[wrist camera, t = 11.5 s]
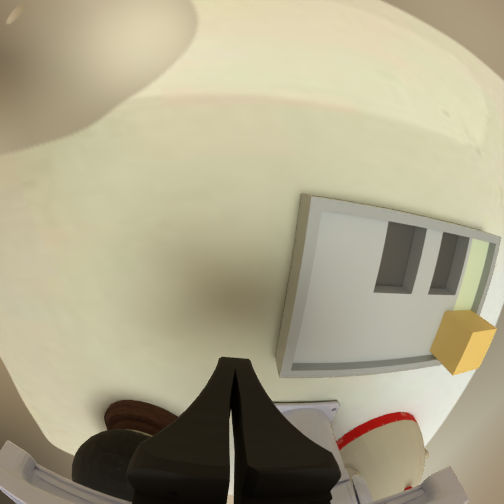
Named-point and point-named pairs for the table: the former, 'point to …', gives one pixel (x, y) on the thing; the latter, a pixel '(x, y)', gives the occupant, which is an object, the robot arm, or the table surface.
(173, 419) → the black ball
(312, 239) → the box
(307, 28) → the table surface
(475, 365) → the block
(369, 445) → the kitchen timer
